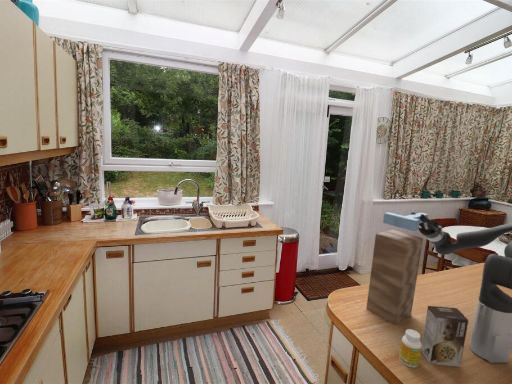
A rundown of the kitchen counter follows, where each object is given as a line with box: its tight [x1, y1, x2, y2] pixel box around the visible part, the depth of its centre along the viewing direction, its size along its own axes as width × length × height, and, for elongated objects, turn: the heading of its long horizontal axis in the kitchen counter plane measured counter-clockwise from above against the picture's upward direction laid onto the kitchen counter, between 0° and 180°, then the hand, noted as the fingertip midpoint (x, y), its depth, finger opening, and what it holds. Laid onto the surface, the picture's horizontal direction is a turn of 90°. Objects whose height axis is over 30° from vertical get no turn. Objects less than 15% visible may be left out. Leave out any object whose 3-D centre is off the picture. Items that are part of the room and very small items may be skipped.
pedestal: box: [366, 229, 424, 325], centre depth 112 cm, size 12×12×32 cm
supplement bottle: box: [398, 328, 422, 368], centre depth 88 cm, size 5×5×10 cm
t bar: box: [382, 211, 429, 232], centre depth 113 cm, size 20×12×4 cm, turn 125°
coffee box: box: [421, 305, 469, 368], centre depth 89 cm, size 9×6×16 cm
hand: (416, 215), depth 115 cm, fingers closed on t bar, 3 cm apart
